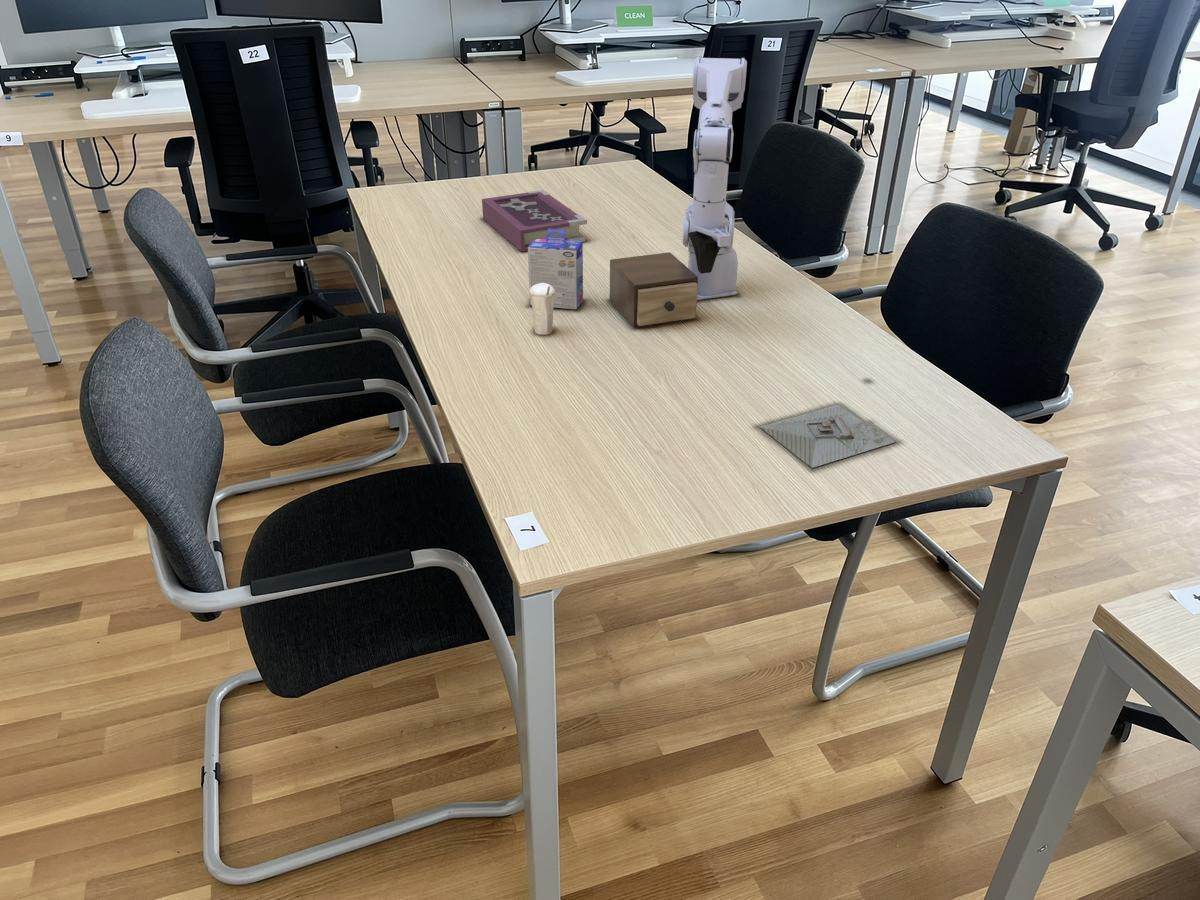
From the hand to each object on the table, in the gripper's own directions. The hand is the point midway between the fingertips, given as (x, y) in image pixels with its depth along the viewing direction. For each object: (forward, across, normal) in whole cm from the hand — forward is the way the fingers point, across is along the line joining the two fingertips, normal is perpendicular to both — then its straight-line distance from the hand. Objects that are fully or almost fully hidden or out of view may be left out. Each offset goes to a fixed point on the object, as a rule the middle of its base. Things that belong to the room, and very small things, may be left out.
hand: (704, 271), depth 168 cm
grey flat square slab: (+11, -40, -6) cm, 42 cm away
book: (+11, +61, +16) cm, 64 cm away
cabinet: (+10, +9, +6) cm, 15 cm away
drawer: (+9, +7, +6) cm, 13 cm away
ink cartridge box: (+11, +18, +23) cm, 31 cm away
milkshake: (+11, +6, +29) cm, 31 cm away
